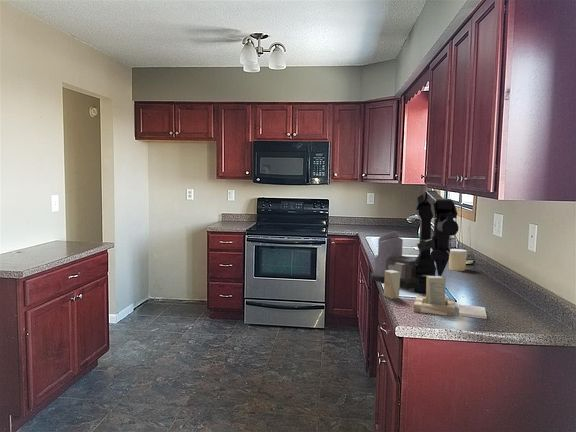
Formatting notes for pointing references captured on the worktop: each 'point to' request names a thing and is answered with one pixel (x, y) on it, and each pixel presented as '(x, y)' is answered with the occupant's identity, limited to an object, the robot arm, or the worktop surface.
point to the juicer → (393, 260)
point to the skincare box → (435, 290)
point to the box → (391, 284)
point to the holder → (434, 307)
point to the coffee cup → (457, 259)
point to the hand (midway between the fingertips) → (439, 274)
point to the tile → (472, 311)
